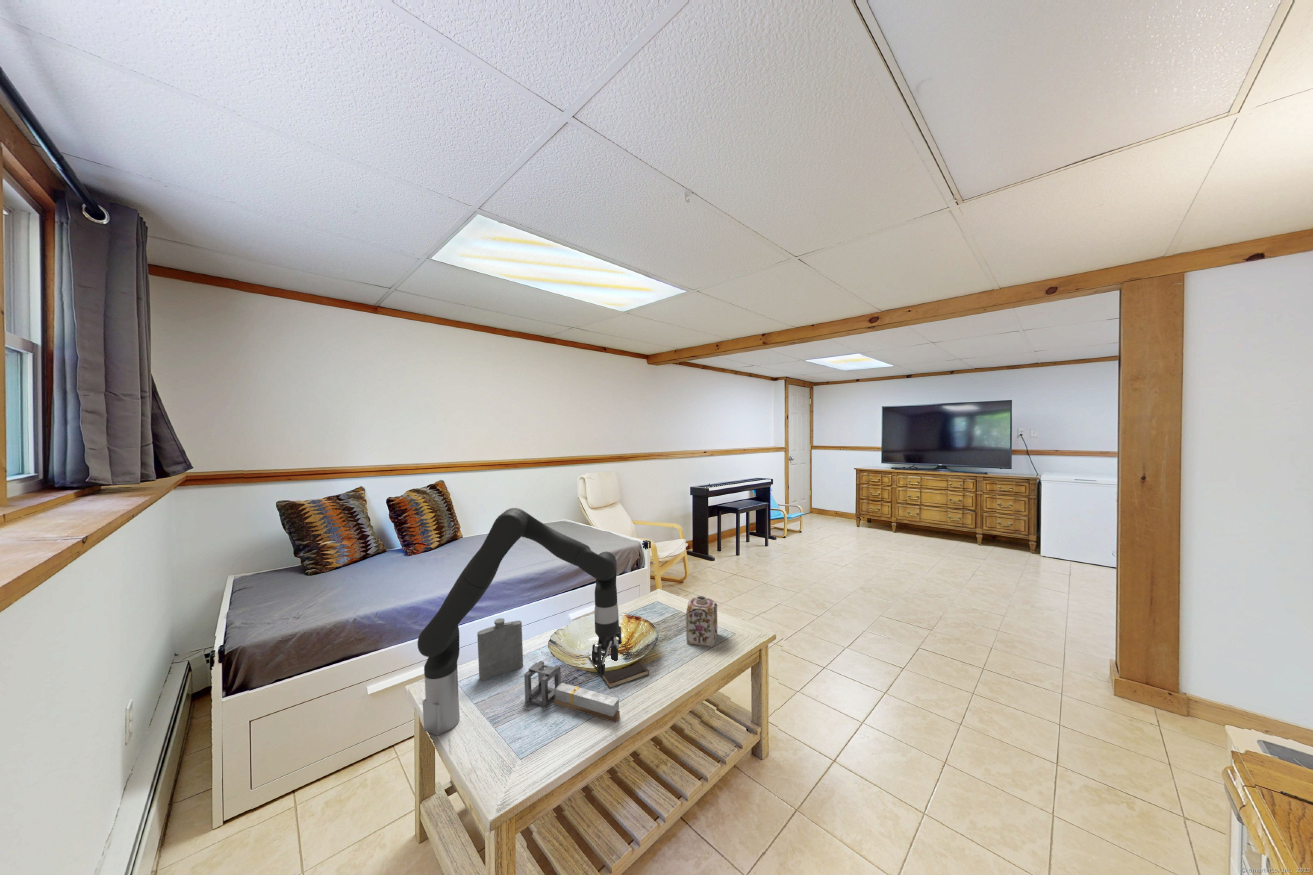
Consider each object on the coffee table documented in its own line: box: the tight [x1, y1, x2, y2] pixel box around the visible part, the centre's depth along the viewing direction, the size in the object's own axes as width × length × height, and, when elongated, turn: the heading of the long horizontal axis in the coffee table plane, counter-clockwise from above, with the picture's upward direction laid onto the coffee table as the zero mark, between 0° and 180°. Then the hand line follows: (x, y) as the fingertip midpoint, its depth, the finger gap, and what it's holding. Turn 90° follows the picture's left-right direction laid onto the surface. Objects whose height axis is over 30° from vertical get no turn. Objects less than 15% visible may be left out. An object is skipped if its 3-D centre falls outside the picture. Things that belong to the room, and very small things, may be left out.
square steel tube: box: [554, 682, 620, 717], centre depth 137 cm, size 22×4×4 cm, turn 67°
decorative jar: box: [685, 595, 718, 648], centre depth 179 cm, size 12×12×18 cm
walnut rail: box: [553, 696, 621, 723], centre depth 137 cm, size 3×24×2 cm, turn 67°
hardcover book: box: [601, 661, 650, 688], centre depth 162 cm, size 16×23×2 cm
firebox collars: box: [523, 660, 562, 709], centre depth 144 cm, size 8×9×10 cm
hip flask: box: [476, 617, 524, 682], centre depth 159 cm, size 16×4×20 cm, turn 122°
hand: (608, 667), depth 133 cm, fingers open, 8 cm apart
